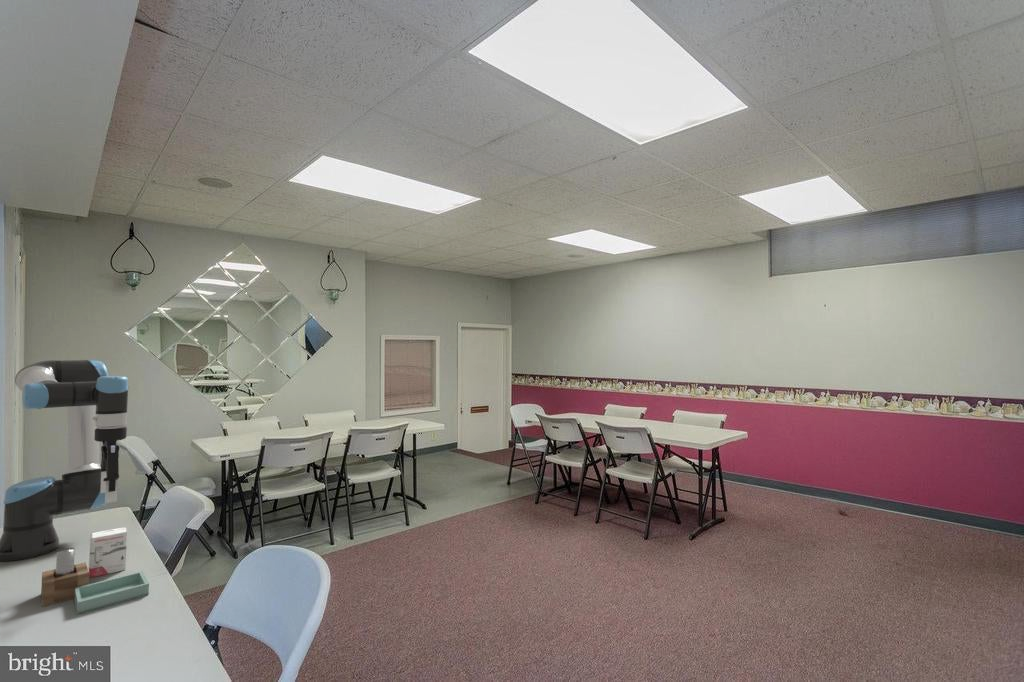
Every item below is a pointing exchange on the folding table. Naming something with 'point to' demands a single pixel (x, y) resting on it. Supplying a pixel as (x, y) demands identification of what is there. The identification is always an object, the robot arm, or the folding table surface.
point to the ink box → (107, 552)
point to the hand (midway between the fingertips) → (108, 497)
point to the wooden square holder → (62, 584)
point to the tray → (110, 592)
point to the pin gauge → (65, 562)
